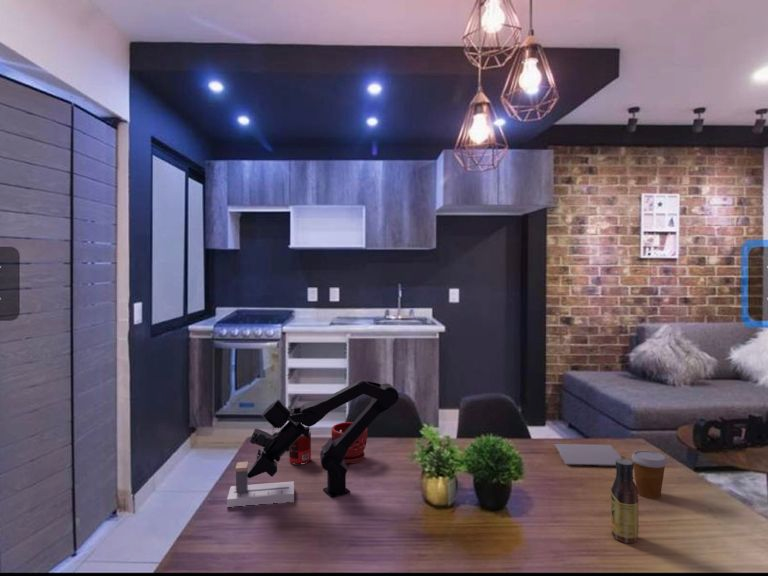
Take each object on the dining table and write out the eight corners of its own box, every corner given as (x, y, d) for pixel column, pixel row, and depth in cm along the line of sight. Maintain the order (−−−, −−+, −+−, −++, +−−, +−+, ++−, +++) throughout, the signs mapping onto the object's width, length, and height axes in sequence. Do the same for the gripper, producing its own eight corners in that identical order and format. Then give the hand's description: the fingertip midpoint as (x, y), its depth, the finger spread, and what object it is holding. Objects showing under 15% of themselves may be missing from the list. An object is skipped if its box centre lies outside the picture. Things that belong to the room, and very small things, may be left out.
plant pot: (325, 464, 173) (325, 430, 173) (339, 451, 186) (339, 420, 185) (360, 468, 169) (360, 433, 169) (372, 455, 182) (372, 423, 182)
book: (549, 452, 185) (549, 442, 185) (611, 453, 184) (611, 443, 184) (561, 468, 170) (561, 457, 170) (629, 469, 168) (629, 458, 168)
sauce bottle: (614, 529, 127) (614, 454, 127) (640, 537, 123) (641, 459, 123) (607, 539, 122) (607, 461, 122) (634, 548, 118) (635, 467, 118)
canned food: (313, 457, 179) (313, 427, 179) (307, 465, 171) (307, 434, 171) (293, 456, 180) (292, 427, 180) (286, 465, 172) (286, 434, 172)
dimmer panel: (294, 489, 152) (293, 481, 152) (294, 502, 143) (293, 493, 143) (231, 494, 149) (230, 486, 149) (227, 507, 140) (226, 499, 140)
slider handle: (248, 486, 148) (248, 461, 148) (247, 492, 143) (246, 467, 143) (237, 486, 147) (237, 462, 147) (235, 493, 142) (235, 468, 142)
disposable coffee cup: (630, 497, 146) (631, 457, 146) (631, 485, 154) (631, 447, 154) (667, 504, 141) (667, 463, 141) (665, 491, 150) (666, 452, 150)
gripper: (268, 412, 155) (232, 448, 153) (264, 429, 137) (223, 471, 135) (293, 435, 157) (258, 471, 155) (293, 455, 138) (253, 497, 137)
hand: (248, 476), depth 145 cm, fingers closed, pressing on slider handle
